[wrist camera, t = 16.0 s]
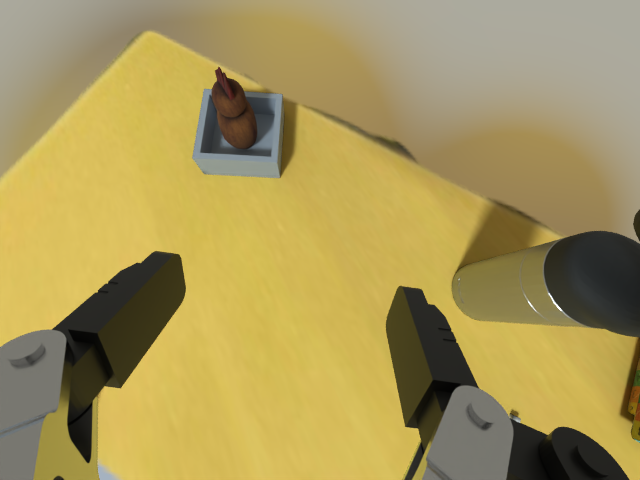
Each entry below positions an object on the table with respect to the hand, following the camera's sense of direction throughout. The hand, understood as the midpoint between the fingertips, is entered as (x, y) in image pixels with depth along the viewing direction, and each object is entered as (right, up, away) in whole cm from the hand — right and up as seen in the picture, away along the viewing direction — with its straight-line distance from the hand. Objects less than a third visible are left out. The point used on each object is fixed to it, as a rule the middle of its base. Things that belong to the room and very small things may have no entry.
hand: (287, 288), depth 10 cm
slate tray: (-12, +19, +38) cm, 44 cm away
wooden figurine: (-12, +20, +37) cm, 44 cm away
